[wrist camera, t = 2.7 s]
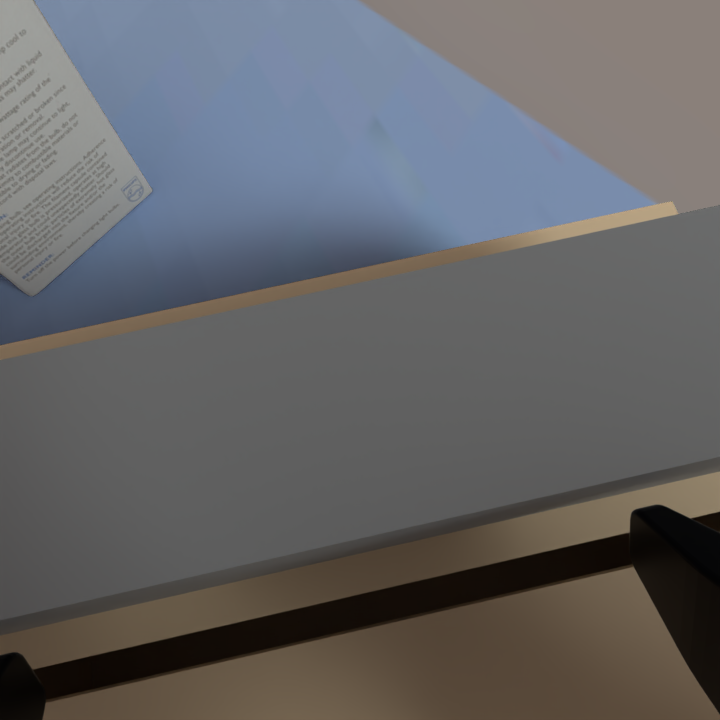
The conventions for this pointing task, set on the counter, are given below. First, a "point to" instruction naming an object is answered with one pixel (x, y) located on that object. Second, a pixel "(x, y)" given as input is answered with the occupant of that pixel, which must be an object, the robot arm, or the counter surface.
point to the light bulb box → (53, 156)
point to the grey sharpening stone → (356, 431)
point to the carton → (416, 654)
